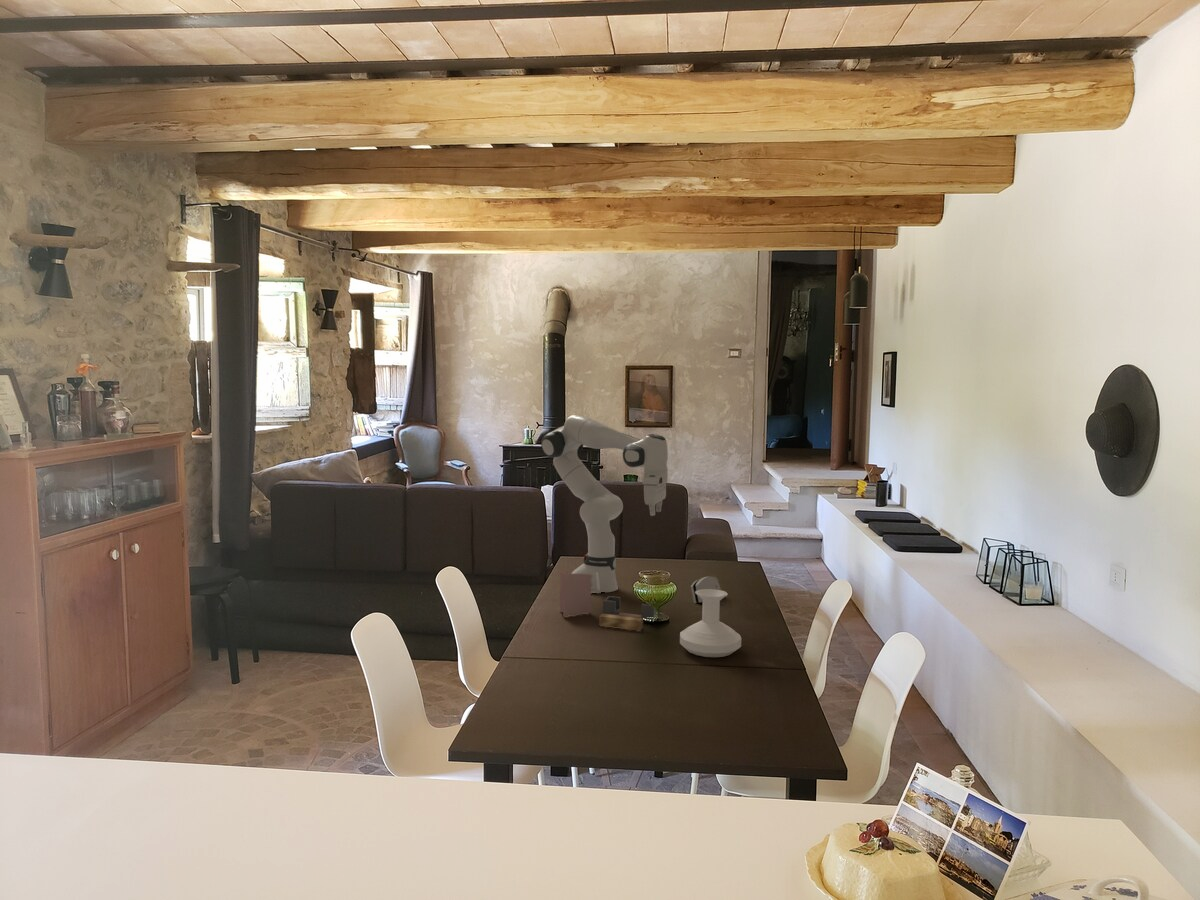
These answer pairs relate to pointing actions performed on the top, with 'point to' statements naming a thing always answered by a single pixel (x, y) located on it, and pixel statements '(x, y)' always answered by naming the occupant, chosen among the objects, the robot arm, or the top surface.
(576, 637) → the top surface
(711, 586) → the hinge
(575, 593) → the greeting card
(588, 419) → the robot arm
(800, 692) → the top surface
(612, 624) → the oak slat
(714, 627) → the candle holder
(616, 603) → the end cap frame
